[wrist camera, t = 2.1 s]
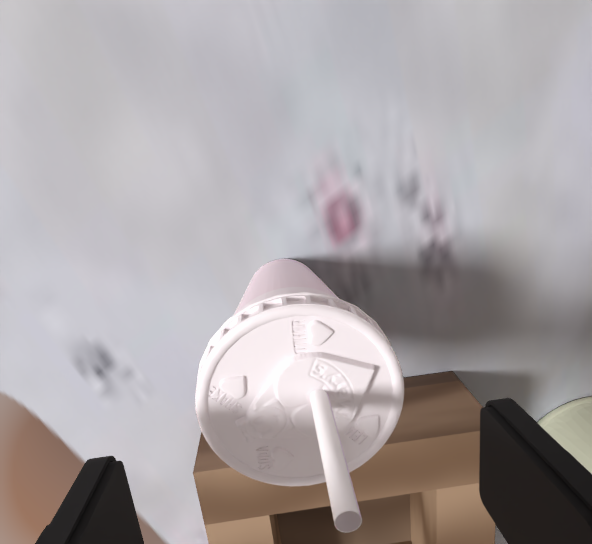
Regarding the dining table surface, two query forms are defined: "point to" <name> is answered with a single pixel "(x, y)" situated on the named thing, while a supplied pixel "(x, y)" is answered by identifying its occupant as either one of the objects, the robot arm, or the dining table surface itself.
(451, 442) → the socket block
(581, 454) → the can
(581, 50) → the dining table surface
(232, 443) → the smoothie
